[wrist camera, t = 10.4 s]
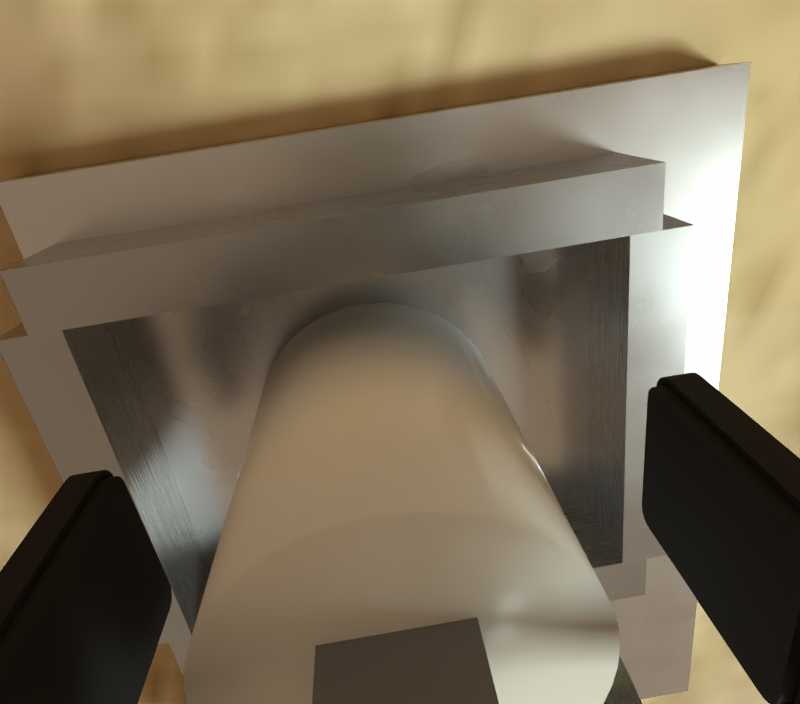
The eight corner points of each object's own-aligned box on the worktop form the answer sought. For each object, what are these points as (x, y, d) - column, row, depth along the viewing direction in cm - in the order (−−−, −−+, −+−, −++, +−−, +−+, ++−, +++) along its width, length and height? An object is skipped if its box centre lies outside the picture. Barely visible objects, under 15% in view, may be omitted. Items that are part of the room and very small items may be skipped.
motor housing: (18, 177, 12) (-524, 306, 4) (720, 64, 12) (1302, 10, 5) (249, 740, 20) (191, 1123, 12) (672, 663, 20) (862, 993, 13)
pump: (234, 325, 12) (66, 659, 5) (484, 283, 13) (683, 552, 5) (290, 522, 15) (232, 952, 7) (501, 486, 15) (656, 873, 7)
